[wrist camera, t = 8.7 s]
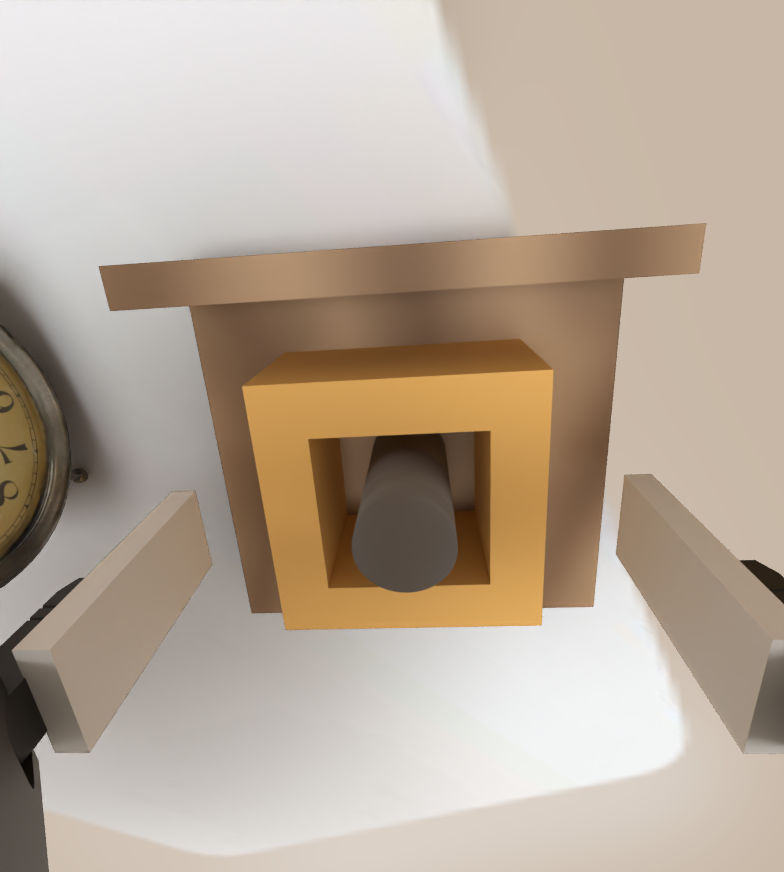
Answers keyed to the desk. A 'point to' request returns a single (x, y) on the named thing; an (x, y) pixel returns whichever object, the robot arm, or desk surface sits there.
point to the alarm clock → (29, 459)
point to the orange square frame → (400, 415)
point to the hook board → (415, 325)
